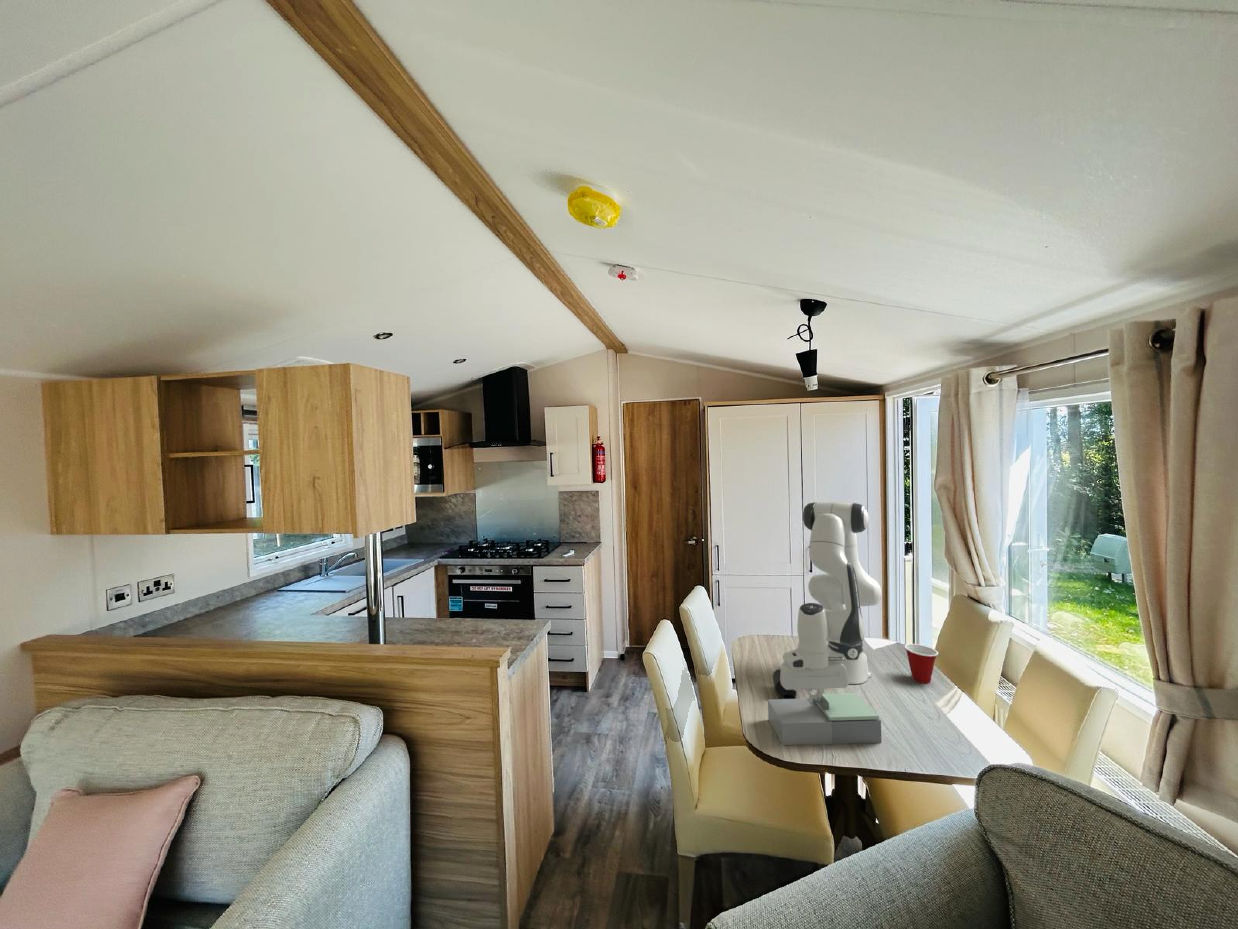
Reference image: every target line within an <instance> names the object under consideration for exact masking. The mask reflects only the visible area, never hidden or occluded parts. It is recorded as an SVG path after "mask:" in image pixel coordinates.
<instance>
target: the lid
mask: <svg viewBox="0 0 1238 929" xmlns="http://www.w3.org/2000/svg"><path fill="white" fill-rule="evenodd" d="M811 694H812V695H816V693H811ZM815 703H816V704H817V705H818V707H819V708H820V709H821V710H822V712H823V713H824V714H825V715H826V717H827V718H828V719H829V720H830V721H836V720H870V719H880V715H879V714H878V713H876V711H875V710H874V709H873V708H872V707H871V706H869V704H868V703H867V702H866V701H865V700H864V699H863V698H862V697H861V696H860V695H858V693H856V692H841V693H840V692H839V693H835V692H834V693H823V694H822V696H821V697H820V702H815Z"/></svg>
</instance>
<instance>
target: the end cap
mask: <svg viewBox="0 0 1238 929" xmlns="http://www.w3.org/2000/svg"><path fill="white" fill-rule="evenodd" d="M780 673H781V668H780V669H779V668H778V669H776V670H775V671H774V672H773V673H772V681H773V685H774V686H773V687H774V691H775V694H777V696H778V697H780V699H797V691H796V690H786V689H785V688H784V687H783V686H782V685H781V682H780Z"/></svg>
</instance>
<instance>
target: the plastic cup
mask: <svg viewBox="0 0 1238 929" xmlns="http://www.w3.org/2000/svg"><path fill="white" fill-rule="evenodd" d="M904 649H905V651H906V654H907V658H908V664H909V669H910V672H911V678H912V680H913V681H915V682H917V683H920V684H930V683H931V681H932V676H933V672H934V666H935V660H936V657H937V656H938V655H939V651H937V650H936V649H934V648H933V647H929V646H927V645H923V644H918V643H907V644H905V645H904Z"/></svg>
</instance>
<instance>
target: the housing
mask: <svg viewBox="0 0 1238 929" xmlns="http://www.w3.org/2000/svg"><path fill="white" fill-rule="evenodd" d="M767 713H768V715H767V717H768V719H767V720H768V722H769V723H770V724H771V727H772V728H773V730H774V733H775V734H776V736H777V737H778V739H779V741H780V743H781V744H782V746H798V745H802V746H803V745H833V744H835V745H836V744H837V745H840V744H867V743H868V744H870V743H871V744H873V743H874V744H875V743H882V720H881V719H880V718H879V719H870V720H836V721H830V720H829V719H828V718H827V717H826V715H825V714H824V713H823V712H822V710H821V709H820V708H819V707H818V705H817V704H816V703H815V702H812V703H811V702H810V700H809V697H808V698H796V699H783V698H780V699H779V698H778V699H776V698H775V699H767Z"/></svg>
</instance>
